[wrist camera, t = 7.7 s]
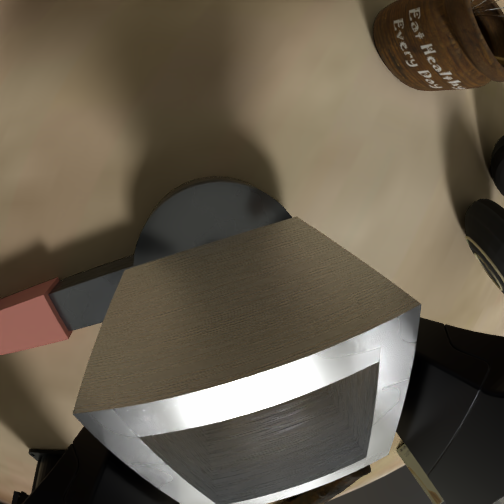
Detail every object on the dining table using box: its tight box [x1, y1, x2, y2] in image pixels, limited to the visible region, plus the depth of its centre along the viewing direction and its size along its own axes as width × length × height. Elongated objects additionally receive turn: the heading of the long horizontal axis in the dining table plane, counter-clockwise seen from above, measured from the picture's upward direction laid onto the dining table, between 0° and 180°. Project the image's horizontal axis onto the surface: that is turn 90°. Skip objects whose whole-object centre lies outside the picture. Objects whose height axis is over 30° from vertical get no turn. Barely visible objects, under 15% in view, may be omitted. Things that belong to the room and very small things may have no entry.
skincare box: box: [396, 443, 444, 504], centre depth 25 cm, size 6×4×12 cm
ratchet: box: [0, 177, 292, 355], centre depth 11 cm, size 18×7×5 cm, turn 104°
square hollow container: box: [73, 217, 421, 504], centre depth 6 cm, size 5×5×5 cm
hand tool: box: [281, 465, 371, 504], centre depth 26 cm, size 19×4×5 cm, turn 152°
